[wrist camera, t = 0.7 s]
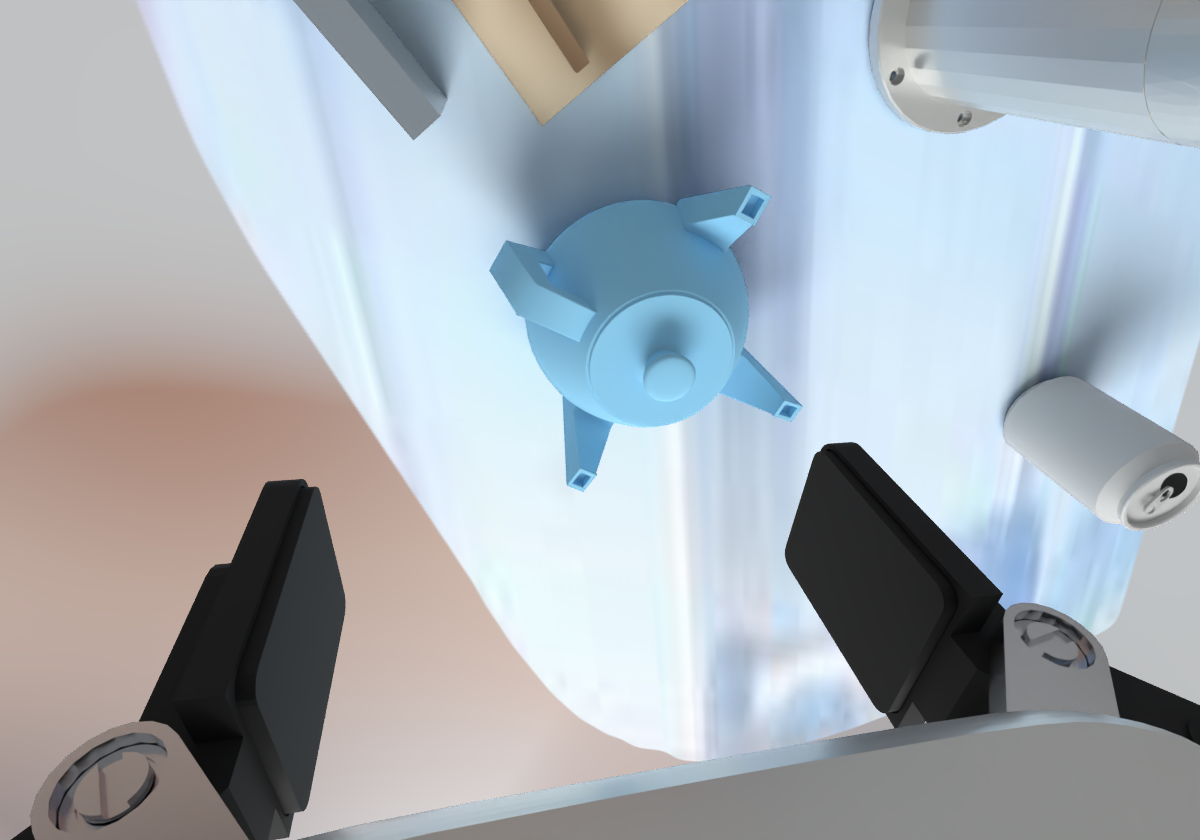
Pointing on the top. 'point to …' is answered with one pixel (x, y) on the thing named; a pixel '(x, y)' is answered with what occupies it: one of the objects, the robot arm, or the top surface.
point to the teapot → (641, 317)
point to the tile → (379, 60)
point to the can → (1104, 453)
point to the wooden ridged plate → (561, 42)
